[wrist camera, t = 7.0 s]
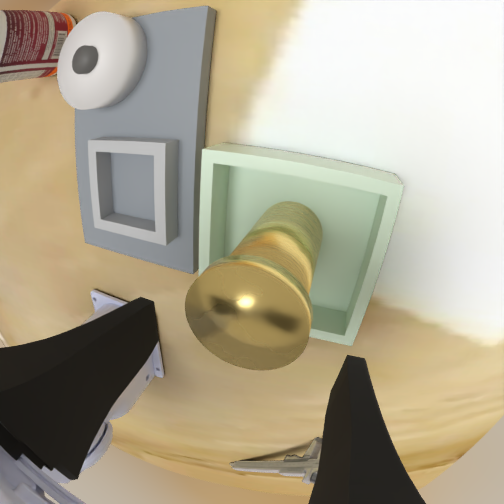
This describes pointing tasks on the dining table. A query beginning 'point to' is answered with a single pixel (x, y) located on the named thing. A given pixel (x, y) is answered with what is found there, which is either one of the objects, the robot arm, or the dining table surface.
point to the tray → (326, 209)
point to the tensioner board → (140, 129)
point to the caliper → (288, 464)
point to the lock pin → (260, 292)
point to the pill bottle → (31, 43)
